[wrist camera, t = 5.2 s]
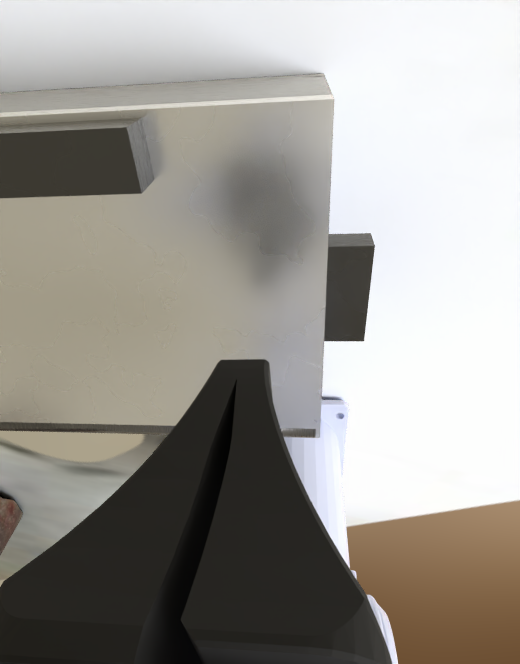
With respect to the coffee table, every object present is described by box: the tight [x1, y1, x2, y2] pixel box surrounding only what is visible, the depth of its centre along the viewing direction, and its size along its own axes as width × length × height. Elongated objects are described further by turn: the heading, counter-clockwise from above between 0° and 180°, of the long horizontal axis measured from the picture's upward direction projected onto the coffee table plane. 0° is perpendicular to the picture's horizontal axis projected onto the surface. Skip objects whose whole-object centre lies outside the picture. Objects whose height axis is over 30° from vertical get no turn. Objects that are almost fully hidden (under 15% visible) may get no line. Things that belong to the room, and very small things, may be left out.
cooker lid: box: [0, 94, 334, 438], centre depth 15 cm, size 13×16×2 cm
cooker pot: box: [0, 74, 375, 341], centre depth 18 cm, size 13×19×5 cm
